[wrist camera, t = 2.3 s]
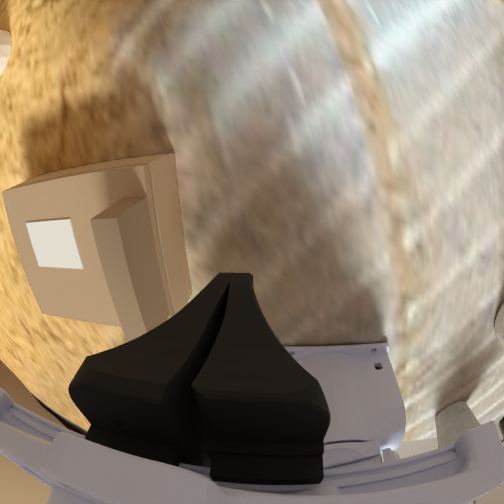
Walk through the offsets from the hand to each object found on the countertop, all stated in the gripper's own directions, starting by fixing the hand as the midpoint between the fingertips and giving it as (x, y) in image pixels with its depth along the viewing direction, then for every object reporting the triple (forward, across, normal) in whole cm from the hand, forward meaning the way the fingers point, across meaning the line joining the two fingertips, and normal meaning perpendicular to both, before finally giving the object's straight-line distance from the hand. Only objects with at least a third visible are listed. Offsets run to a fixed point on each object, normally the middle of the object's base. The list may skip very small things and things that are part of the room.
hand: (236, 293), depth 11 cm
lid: (+3, +11, 0) cm, 11 cm away
